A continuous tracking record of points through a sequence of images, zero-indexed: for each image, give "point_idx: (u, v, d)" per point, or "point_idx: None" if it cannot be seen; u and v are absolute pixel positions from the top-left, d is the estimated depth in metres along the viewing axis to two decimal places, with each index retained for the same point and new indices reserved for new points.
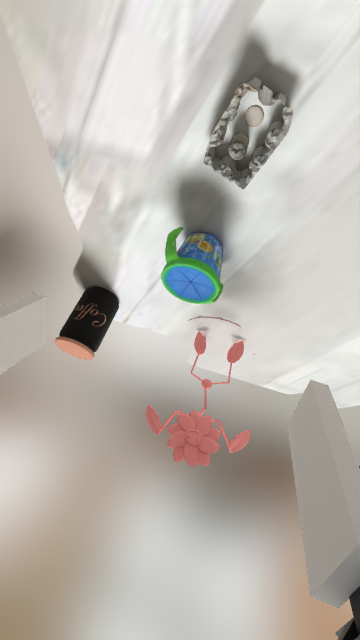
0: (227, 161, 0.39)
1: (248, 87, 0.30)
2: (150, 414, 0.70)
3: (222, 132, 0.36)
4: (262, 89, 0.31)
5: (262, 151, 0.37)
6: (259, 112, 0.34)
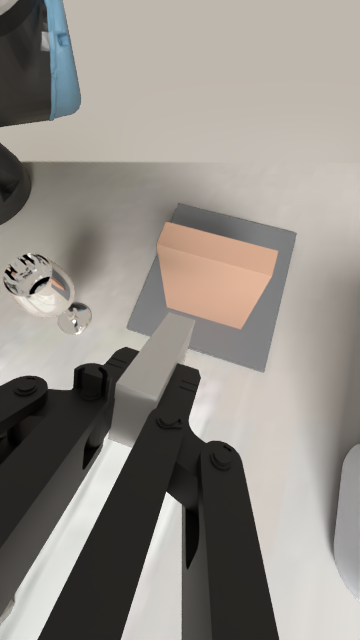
0: None
1: None
2: None
3: None
4: None
5: None
6: None
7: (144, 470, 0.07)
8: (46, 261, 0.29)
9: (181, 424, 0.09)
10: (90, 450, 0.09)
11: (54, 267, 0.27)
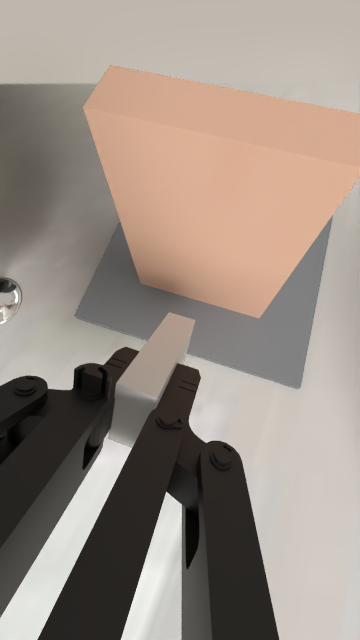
0: None
1: None
2: None
3: None
4: None
5: None
6: None
7: (144, 470, 0.07)
8: None
9: (181, 424, 0.09)
10: (90, 450, 0.09)
11: None
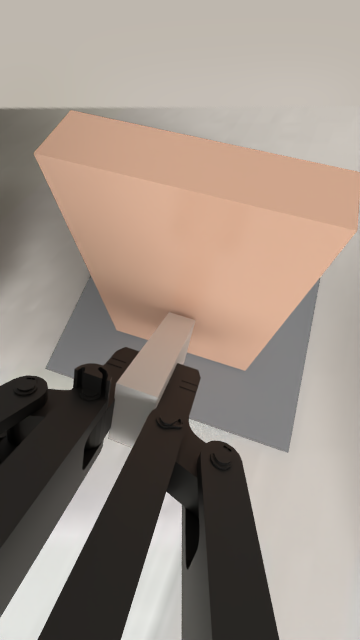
0: None
1: None
2: None
3: None
4: None
5: None
6: None
7: (144, 470, 0.07)
8: None
9: (181, 424, 0.09)
10: (90, 450, 0.09)
11: None
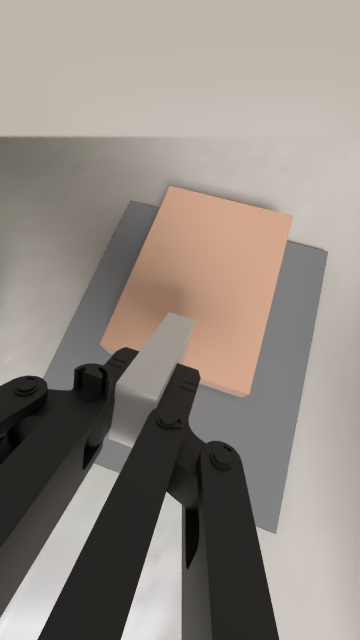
0: None
1: None
2: None
3: None
4: None
5: None
6: None
7: (144, 470, 0.07)
8: None
9: (181, 424, 0.09)
10: (90, 450, 0.09)
11: None
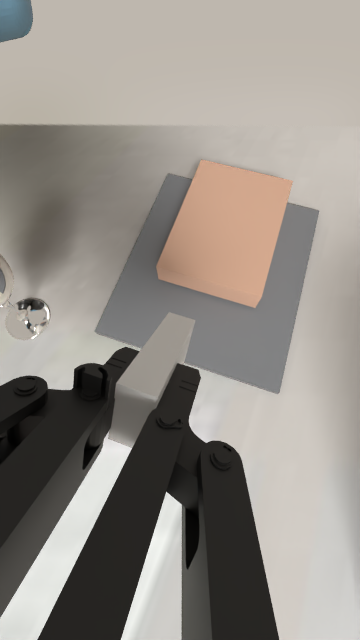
0: None
1: None
2: None
3: None
4: None
5: None
6: None
7: (144, 470, 0.07)
8: None
9: (181, 424, 0.09)
10: (90, 450, 0.09)
11: None
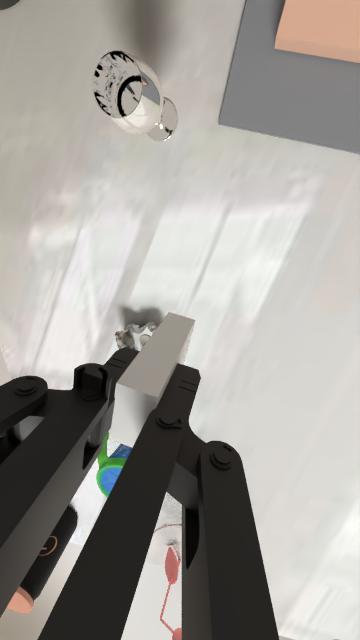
0: None
1: (122, 331, 0.45)
2: None
3: None
4: (131, 327, 0.45)
5: None
6: (146, 337, 0.47)
7: (144, 470, 0.07)
8: (126, 56, 0.25)
9: (181, 424, 0.09)
10: (90, 450, 0.09)
11: (141, 68, 0.24)
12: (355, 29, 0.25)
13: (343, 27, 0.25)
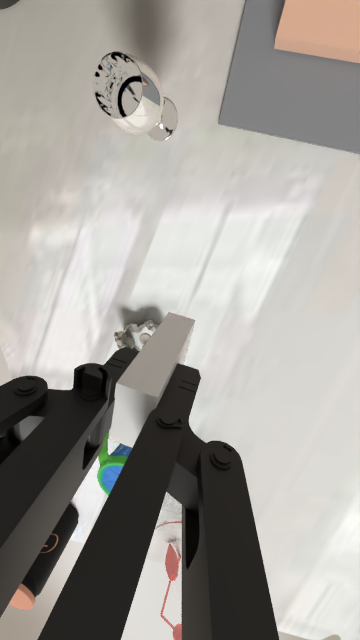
0: None
1: (121, 331, 0.45)
2: None
3: None
4: (129, 327, 0.45)
5: None
6: (146, 336, 0.48)
7: (144, 470, 0.07)
8: (126, 56, 0.25)
9: (181, 424, 0.09)
10: (90, 450, 0.09)
11: (142, 69, 0.24)
12: (354, 30, 0.25)
13: (342, 27, 0.26)
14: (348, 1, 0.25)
